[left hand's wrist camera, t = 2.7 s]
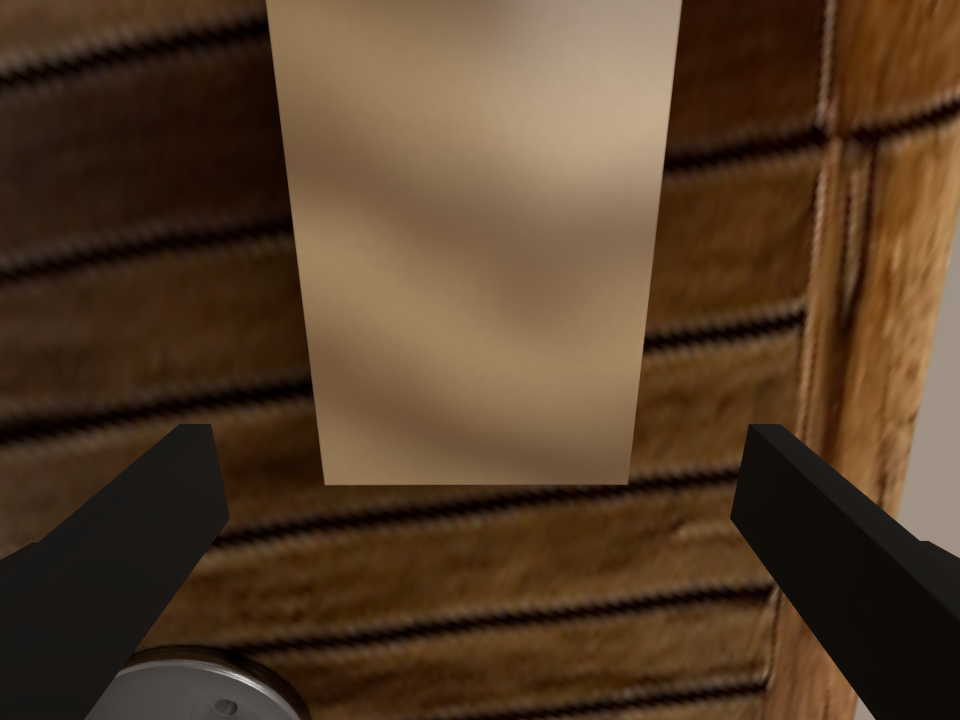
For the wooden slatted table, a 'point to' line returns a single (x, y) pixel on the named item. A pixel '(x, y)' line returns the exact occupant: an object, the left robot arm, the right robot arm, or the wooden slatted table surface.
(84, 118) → the wooden slatted table surface
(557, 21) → the cabinet
